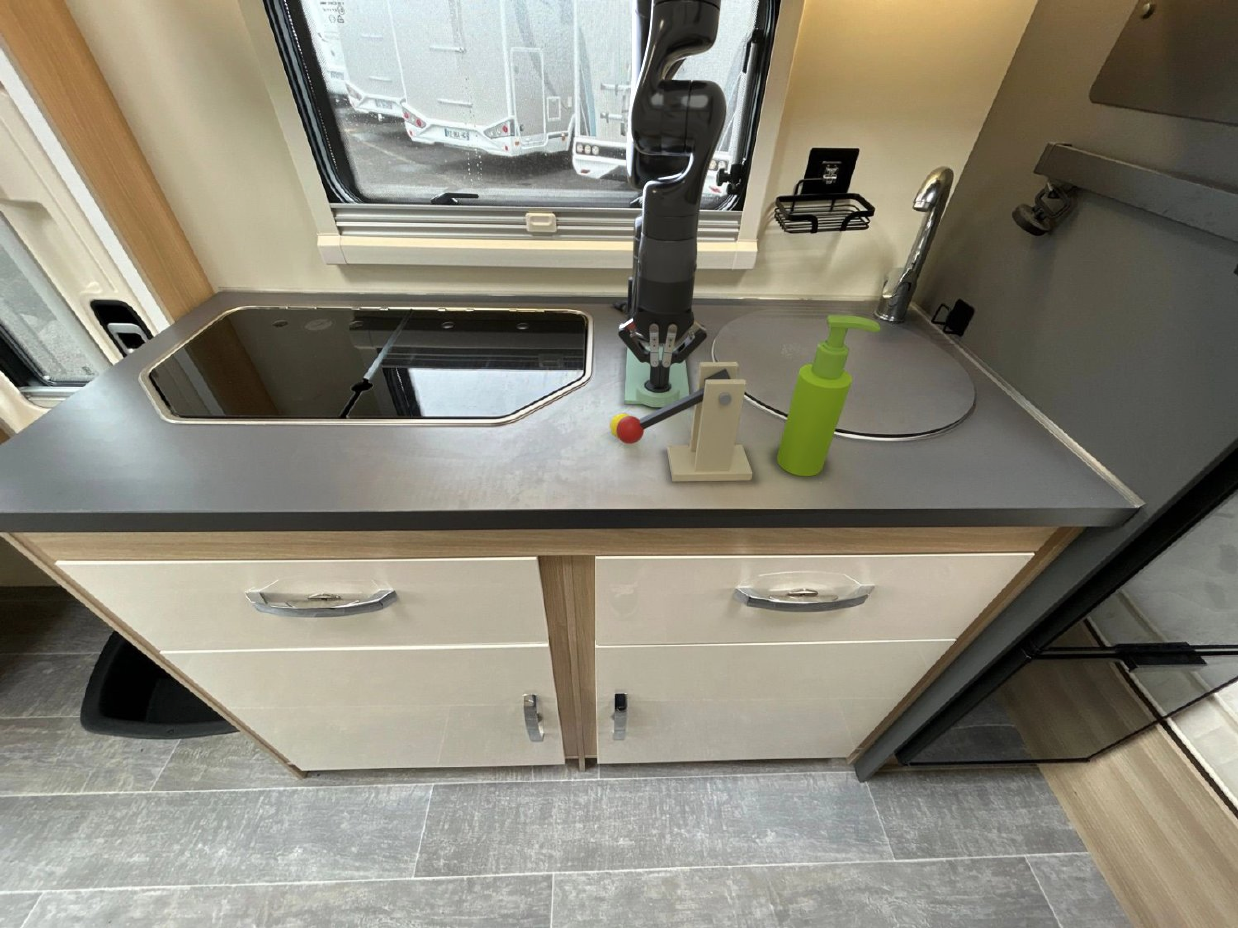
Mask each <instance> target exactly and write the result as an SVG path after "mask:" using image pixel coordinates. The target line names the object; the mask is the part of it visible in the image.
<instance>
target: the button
mask: <svg viewBox="0 0 1238 928" xmlns="http://www.w3.org/2000/svg"><path fill="white" fill-rule="evenodd" d="M646 389H647V390H648V391H651V392H654V393H664V392H668V391H669V390H670V385H669V383H668V384H667V385H664V388H654V384H651V383H650V381H648V382H647V384H646Z"/></svg>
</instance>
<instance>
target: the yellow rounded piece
mask: <svg viewBox="0 0 1238 928" xmlns="http://www.w3.org/2000/svg"><path fill="white" fill-rule="evenodd" d="M627 416H630V414H628V413H625V412H624V413H618V414H617V415H615V416H614V417H612V419H611V422H610V425H609V427H610V430H611V434H612V435H613V436H614V437H616V438H618V436H617V433H616V427H617V424H618V422H619V421H620V420H621V419H622V418H624V417H627ZM618 439H619V438H618Z"/></svg>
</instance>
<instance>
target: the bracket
mask: <svg viewBox="0 0 1238 928" xmlns="http://www.w3.org/2000/svg"><path fill="white" fill-rule="evenodd" d="M739 366H740V365H739V363H738V362H737V361H700V362H699V367H698V375H697V383H696V390H695V392H696V391H698V390H700V389H702V388H704V387H705V389H704V396H703V401H702V402H700V403H698V404H696V405H694V406H693V415H692V423H691V431H690V438H689V445H688V444H687V445H685V444H683V445H667V449H666V451H667V458H668V465H669V470H670V475H671V480H672V483H673V482H676V483H677V482H678V483H679V482H729V481H732V482H734V481H735V482H737V481H738V482H739V481H752V478H753V470H752V468H751V465H750V462H749V460H748V457H747V455H746V452H745V449H744V447H743V444H736V441H737V440H736V439H737V434H738V429H739V425H740V419H741V414H742V410H743V409H742V408H743V403H744V398H745V392H746V387H747V381H746V380H745V378H741V379H740V378H739V379H738V378H737V377H738V371H739ZM724 369H726V370H727V372H728V374H729V376H730V378H731V379H718V380H706V381H705V382H704V379H705V378H707V377H709V376H711V375H713V374H715V373H717V372H719V371H721V370H724Z"/></svg>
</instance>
